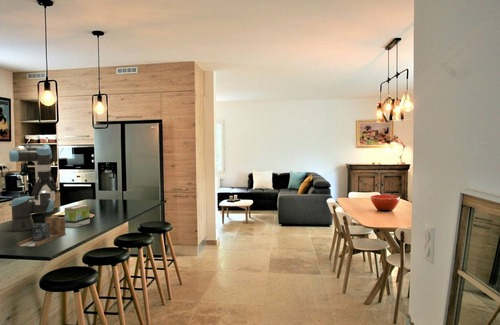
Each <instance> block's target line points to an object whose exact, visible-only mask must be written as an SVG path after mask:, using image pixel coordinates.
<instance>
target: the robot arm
mask: <svg viewBox="0 0 500 325" xmlns="http://www.w3.org/2000/svg"><path fill="white" fill-rule="evenodd" d="M8 158H9V161H10V163H11V162H13V163H14V162H15V163H19V162H32V163H34V170H35V172H34V173H35V180H34V186H33V188H32V191H31V195H32V196H34V197H31V196H30V195H26V196H19V197H16V198H13V199H12V200H11V201H10V202H11V206H10V207H11V221H10V224H9V225H10V226H9V227H8V228H9V231H10V232H13V233H14V232H24V231H30V230H32V225H34V224H35V223H34V220H33V217H32V214H41V213H50V212H54V211H53V210H54V209H55V201H56V196H55V195H56V192H57V190H58V186H57V185H56V182H55V180H54V179H55V178H54V177H53V176H52V171H51V170H52V165H51V164H52V163H51V159H53V155H52V148H51V146H50V145H49V144H46V143H45V144H44V143H41V144H40V143H38V144H37V143H35V144H33V143H29V144H27V143H26V144H20V145H17V146H15V147H14V148H12V150H9V152H8Z"/></svg>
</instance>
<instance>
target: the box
mask: <svg viewBox="0 0 500 325" xmlns="http://www.w3.org/2000/svg"><path fill="white" fill-rule="evenodd" d="M31 231H32V232H31V235H32V238H33V241H42V240H44V239H47V238H49V237H50V228H49V223H45V222H36V223H34V225H32V229H31Z"/></svg>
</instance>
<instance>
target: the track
mask: <svg viewBox="0 0 500 325" xmlns="http://www.w3.org/2000/svg"><path fill="white" fill-rule="evenodd" d="M44 223H49V228H50V237H49V238H47V239H44V240H42V241H33V238H32V237H29V238H26V239H24V240H21V241H19V242H16V247H35V248H36V247H37V248H38V247H40V246H42V245H44V244H47V243H49V242H51V241H54V240H56V239H59V238H61V237H64V236H65V235H66V227H65V216H62V217H61V216H46V217H44Z"/></svg>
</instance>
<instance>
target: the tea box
mask: <svg viewBox="0 0 500 325" xmlns="http://www.w3.org/2000/svg"><path fill="white" fill-rule="evenodd" d="M64 217H65V228H73V229H74V228H75V229H77V228H79V227H81V226H85V225H88V224H90V222H91V221H90V220H91V218H90V217H91V216H90V205H89V204H75V205H72V206H67V207H64Z"/></svg>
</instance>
